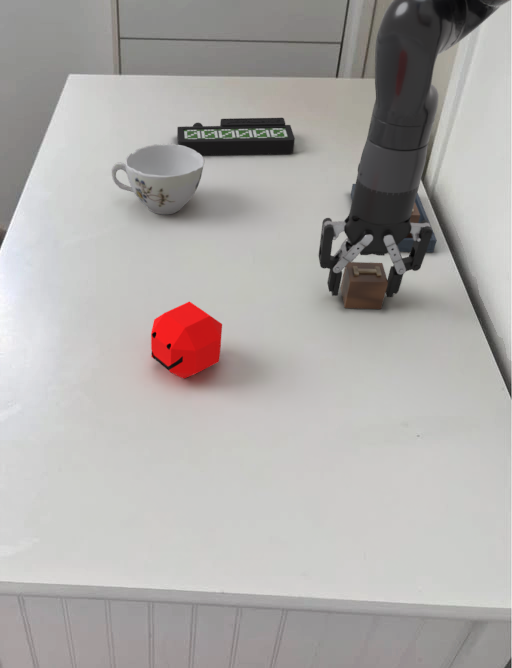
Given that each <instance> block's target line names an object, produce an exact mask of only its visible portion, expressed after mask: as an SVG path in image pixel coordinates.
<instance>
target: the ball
mask: <svg viewBox="0 0 512 668" xmlns="http://www.w3.org/2000/svg"><path fill="white" fill-rule="evenodd" d="M152 323H153V324H152V328H151V332H150V350H151V355H150V356H151V358H152V359H153V360H155V361H156V362H157V363H159V364H160V365H161V366H162V367H164V368H165V369H166V370H168V372H169V373H171V374H173V375H175V376H177V377H179V378H181V379H184V380H185V379H187V378H188V377H191V376H194V375H196V374H197V373H200V372H202V371H203V370H206V369H208V368H211V366H213V365H215V364H218V363H220V356H221V349H222V348H221V346H222V334H223V333H222V332H223V323H222V322H220V321H218V320H217V319H215V318H214V317H213V316H212V315H210V314H208V313H207V312H206V311H204V310H203V309H201V308H200V307H199V306H197V305H196V304H194V303H192V302H191V301H187V302H185V303H183V304H181V305H179V306H177V307H174V308H172V309H170V310H167V311H166V312H164V313H162V314H160V315H159V316H158V317H156V318H154V319H153V322H152Z"/></svg>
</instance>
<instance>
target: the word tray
mask: <svg viewBox="0 0 512 668" xmlns="http://www.w3.org/2000/svg"><path fill="white" fill-rule="evenodd" d="M355 185H356V183H352V185H351V190H350V198H351V200H352V199H353V195H354V190H355ZM418 192H419V191H418ZM418 192H417V196H416V199H415V203H416V206H417V208H418V211H419V213H420V218H419V222H418V223H420V222H421V221H423V220H427V221H428V222H429V224H430V226H431V229H432V232H433V233H432V236H431V239H430V242H429V245H428V248H427V251H426V253H434V251H435V248H436V245H437V237H436V235H435V232H434V229H433V227H432V225H431V223H430V220H429V217H428V215H427V213H426V209H425V207H424V204H423V202H422V200H421V197H420V194H419V193H418ZM413 242H414V240H413V238H404V239H403V240H402V241H401V242H400V243H399V244H398V245H397V246H398V249H399V251H400V253H410V251H411V248H412V245H413Z"/></svg>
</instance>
